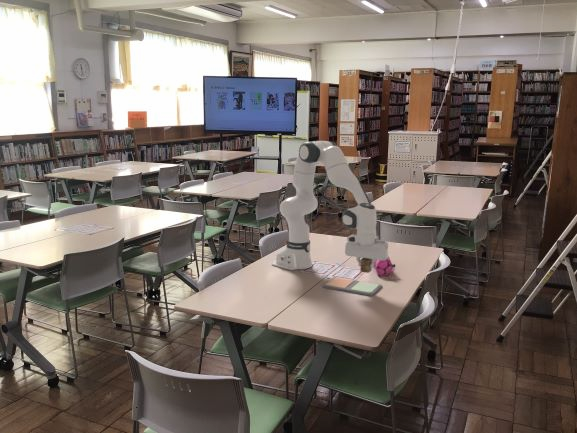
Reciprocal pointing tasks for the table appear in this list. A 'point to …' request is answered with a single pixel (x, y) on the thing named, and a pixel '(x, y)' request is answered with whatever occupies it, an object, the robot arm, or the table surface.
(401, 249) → the table surface
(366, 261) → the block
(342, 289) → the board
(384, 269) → the pencil case
